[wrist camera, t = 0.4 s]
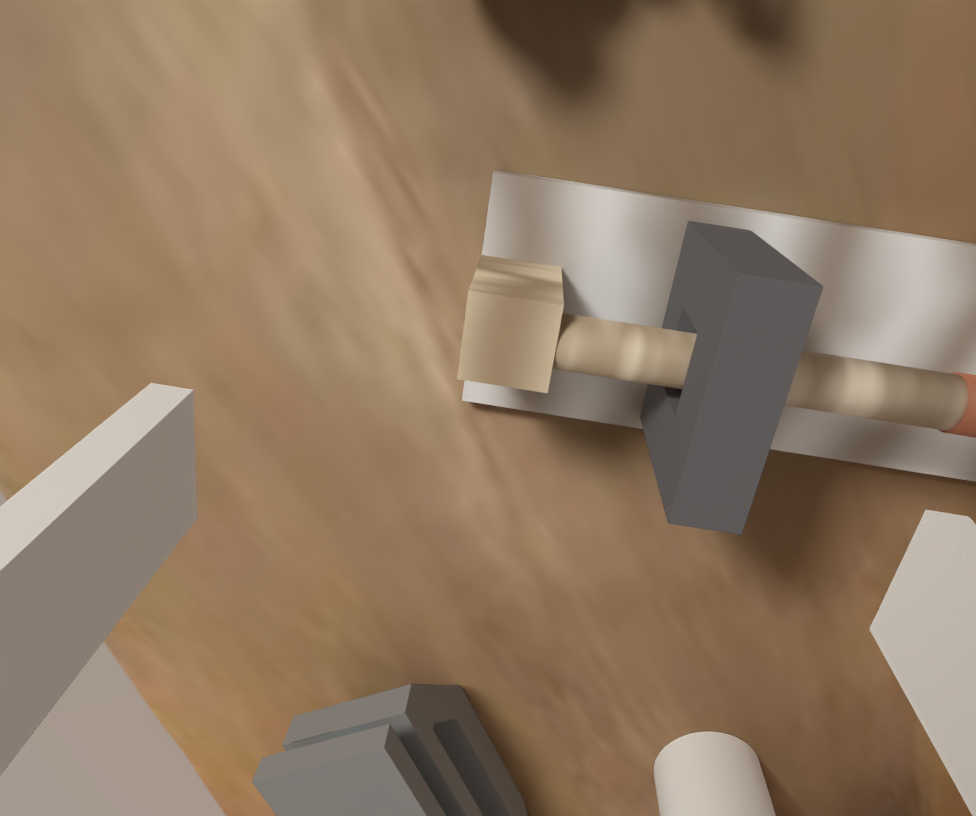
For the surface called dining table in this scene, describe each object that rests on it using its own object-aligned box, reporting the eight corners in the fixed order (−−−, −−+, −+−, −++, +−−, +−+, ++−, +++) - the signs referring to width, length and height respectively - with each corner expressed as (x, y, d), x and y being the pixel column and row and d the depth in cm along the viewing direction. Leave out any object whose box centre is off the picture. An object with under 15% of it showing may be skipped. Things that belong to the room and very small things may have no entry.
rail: (463, 393, 42) (446, 459, 34) (494, 169, 37) (481, 192, 30) (1040, 484, 41) (1143, 570, 34) (1149, 270, 36) (1296, 318, 29)
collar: (639, 417, 40) (668, 523, 31) (687, 220, 36) (738, 273, 26) (695, 425, 40) (741, 535, 30) (750, 230, 36) (823, 286, 26)
